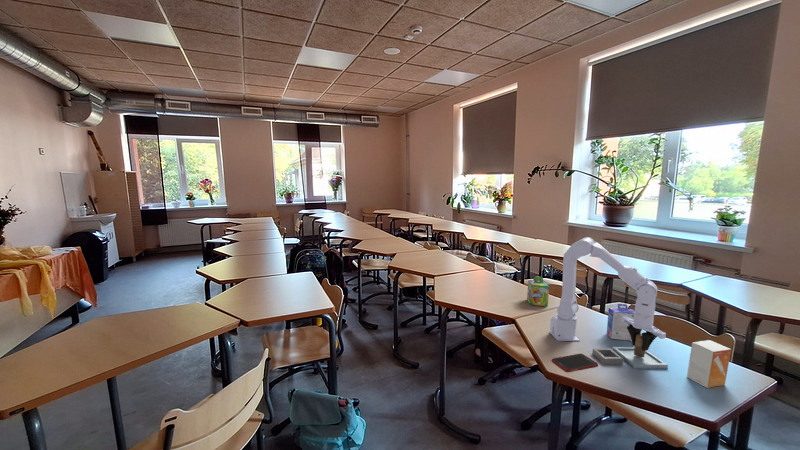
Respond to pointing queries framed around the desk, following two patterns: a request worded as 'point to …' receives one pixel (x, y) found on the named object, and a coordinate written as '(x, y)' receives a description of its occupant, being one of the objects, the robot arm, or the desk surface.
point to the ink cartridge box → (619, 322)
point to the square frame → (607, 360)
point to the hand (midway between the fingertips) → (639, 347)
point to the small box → (708, 363)
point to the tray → (640, 358)
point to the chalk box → (538, 292)
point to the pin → (639, 346)
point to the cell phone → (574, 362)
